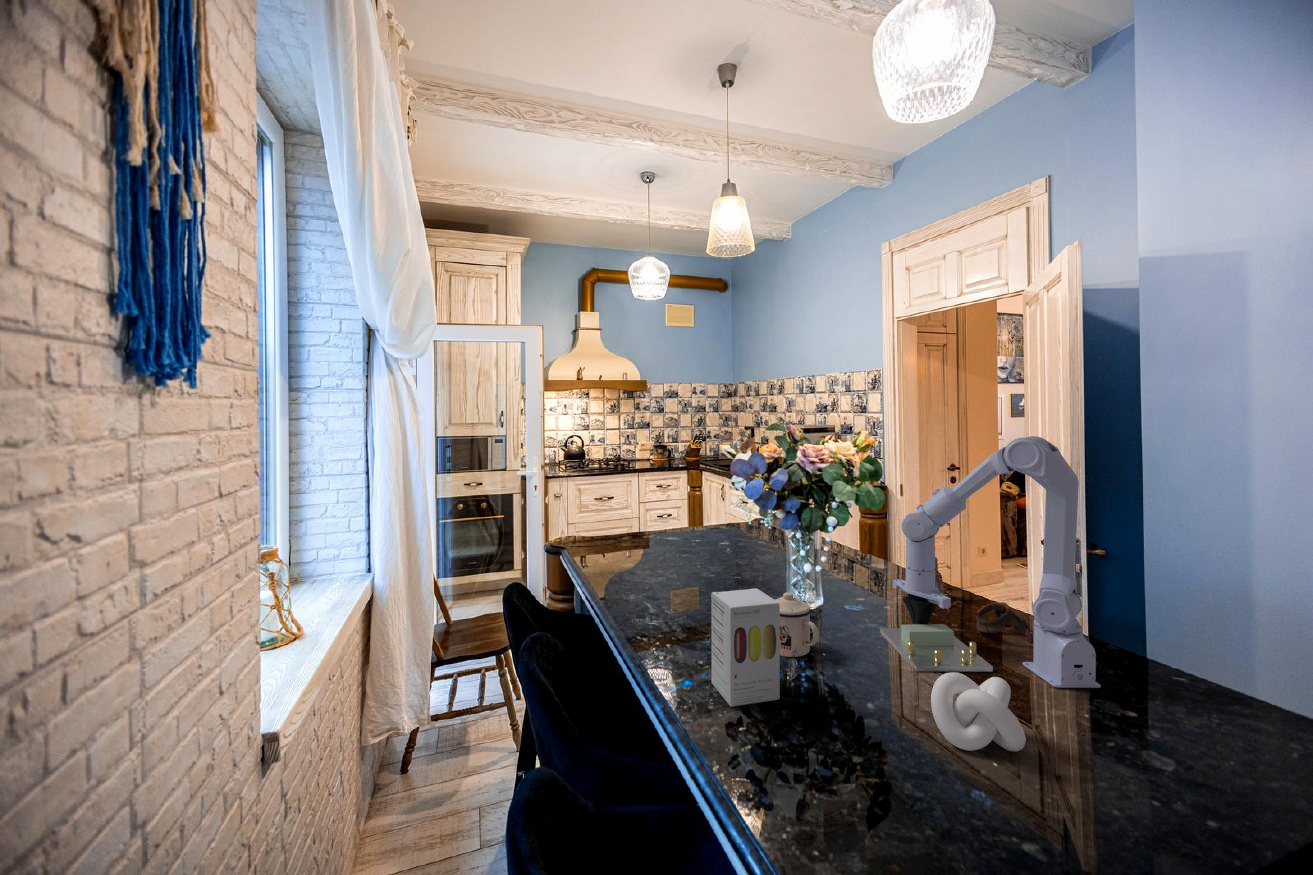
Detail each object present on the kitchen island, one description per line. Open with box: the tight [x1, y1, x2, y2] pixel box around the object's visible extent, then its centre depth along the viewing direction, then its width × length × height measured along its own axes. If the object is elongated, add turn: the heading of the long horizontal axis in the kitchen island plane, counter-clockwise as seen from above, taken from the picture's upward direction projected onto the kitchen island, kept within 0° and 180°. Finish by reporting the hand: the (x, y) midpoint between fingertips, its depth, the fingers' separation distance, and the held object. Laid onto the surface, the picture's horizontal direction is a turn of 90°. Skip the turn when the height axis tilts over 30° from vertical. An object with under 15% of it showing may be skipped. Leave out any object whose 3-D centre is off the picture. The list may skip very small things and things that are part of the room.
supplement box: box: [710, 587, 781, 708], centre depth 98 cm, size 10×9×17 cm
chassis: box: [879, 627, 994, 673], centre depth 113 cm, size 19×14×4 cm
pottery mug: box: [975, 601, 1032, 644], centre depth 121 cm, size 12×10×8 cm
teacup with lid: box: [774, 592, 820, 658], centre depth 114 cm, size 12×9×12 cm
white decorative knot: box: [930, 672, 1027, 752], centre depth 82 cm, size 11×12×9 cm
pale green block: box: [900, 623, 955, 646], centre depth 115 cm, size 4×9×3 cm, turn 89°
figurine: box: [935, 556, 945, 595], centre depth 146 cm, size 7×7×12 cm
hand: (920, 631), depth 119 cm, fingers closed
